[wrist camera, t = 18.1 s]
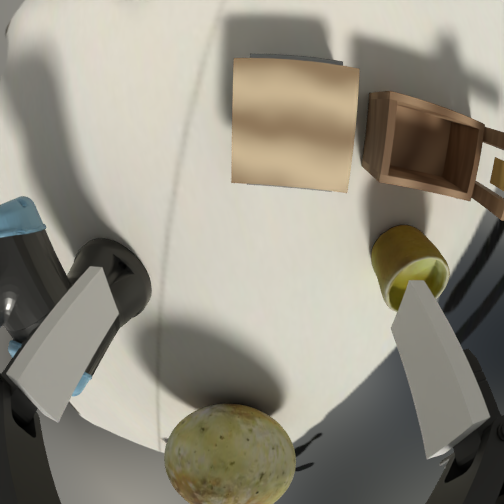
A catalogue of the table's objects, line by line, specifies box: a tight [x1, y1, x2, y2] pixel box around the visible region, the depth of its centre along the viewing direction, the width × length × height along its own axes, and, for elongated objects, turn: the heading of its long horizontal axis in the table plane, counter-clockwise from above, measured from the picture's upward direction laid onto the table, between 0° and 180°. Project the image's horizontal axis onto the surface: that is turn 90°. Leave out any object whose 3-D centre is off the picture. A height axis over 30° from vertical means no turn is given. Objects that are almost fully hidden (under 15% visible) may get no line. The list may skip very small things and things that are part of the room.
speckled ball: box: [164, 404, 296, 504], centre depth 49 cm, size 30×30×30 cm
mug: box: [371, 225, 450, 312], centre depth 32 cm, size 12×10×10 cm
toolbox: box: [362, 91, 504, 221], centre depth 22 cm, size 16×9×12 cm, turn 88°
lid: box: [231, 58, 359, 193], centre depth 23 cm, size 12×11×3 cm
